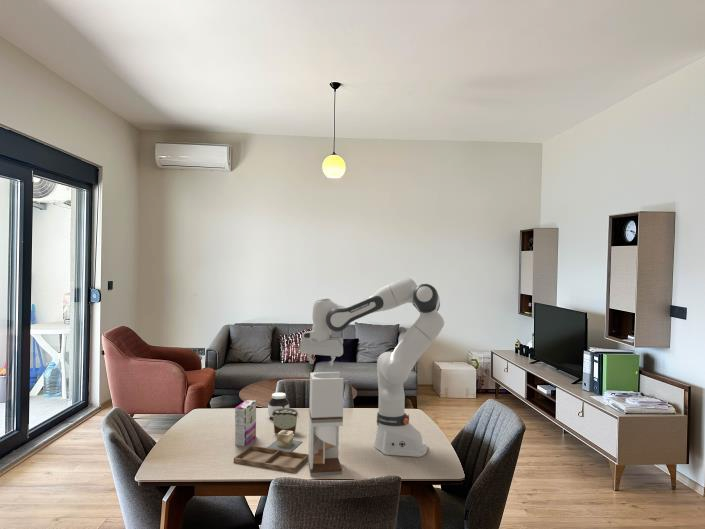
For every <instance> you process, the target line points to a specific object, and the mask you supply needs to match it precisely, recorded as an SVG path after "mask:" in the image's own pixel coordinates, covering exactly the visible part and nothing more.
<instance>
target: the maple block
mask: <svg viewBox="0 0 705 529" xmlns="http://www.w3.org/2000/svg"><path fill="white" fill-rule="evenodd" d="M276 440H277V446H282V447H289V446H290V445H291V444H293V440H294V435H293V431H288V430H282V431H280V432H279V433H278V434H277V435H276Z"/></svg>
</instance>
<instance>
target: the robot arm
mask: <svg viewBox="0 0 705 529" xmlns="http://www.w3.org/2000/svg"><path fill="white" fill-rule="evenodd" d="M408 303H409V304H412V305H413V307H415V309H416V310H417V311H418V312H419V316H418V317H417V319H416V320H415V322H414V323H413V324H412V325H411V326H410V327H409V328H408V330H407V331H406V332H404V334H403V335H402V336H401V337H400V339H399V341H398V343H397V345H396V346H395V347H394V350H393V351H384V352H382V353H381V354H380V355H379V356H378V358H377V361H376V371H377V372H376V375H377V388H378V409H377V410H378V411H377V414H376V425H377V428H376V429H377V430H376V437H375V440H374V444H373V447H374V448H375V449H376V450H377V451H380V452H381V453H382V454H383V455H384V456H385V455H386V456H402V457H412V458H415V457H416V458H421V457H424V456H425V455H426V454H427V452H428V449H429V448H428V444H427V443H426V442H424V441H423V438H422V434H421V432H420V430H418V429H417V428H416V427H414V426H413V425H412V424H411V423H410V414H407V413H405V403H406V402H405V398H406V396H405V391H404V390H405V389H404V383H405V382H406V381H407V380H408V378H409V376H410V373H411V371H412V370H413V369H414V367H415V365H416V364H417V362H418V360H419V359H420V357H421V356H422V355H423V353H424V352H425V351H426V350H427V349H428V348H429V347H430V345H431V344H432V343H433V342H434V341H435V340H436V338H438V335H439V334H441V331H442V330H443V328H444V325H445V321H444V318H443V317H442V315H441V314H440V313H439V312H438V311H439V310H440V307H441V300H440V296H439V292H438V291H437V289H436V288H435V287H434V286H433V285H432V284H429V283H421V284H419V285H417V283H416V282H415V281H414V280H413V279H412V278H410V277H406V278H401V279H398V280H395V281H392V282H390V283H387V284H385V285H383V286H381V287H380V288H378V289H376V290H375V291H374V292H373V293H372V294H371V295H369V296H368V297H367V298H365V299H364V300H362V301H360V302H358V303H355V304H353V305H350V306H347V307H346V306H344V305H340V304H337V302H336V303H335V301H332V300H331V299H330V298H324V299H323V298H322V299H318V300H316V301H315V302H314V303H313V306H312V322H313V323H312V328H311V330H308V331H305V332H303V333H301V337H302V338H301V340H300V343H299V352H300V353H301V354H305V355H307V356H306V357H307V358H308V361H309V362H308V363H309V364H310V365H314V364H315V363H314V362H315V360H314V359H313V358H312V355H316V356H317V355H318V356H328V357H329V356H330V359H331V360H330V361H328V366H330V367H331V366H333V365H334V361H335V359H336V357H341V356H343V354H344V346H343V344H344V338H343V337H342V336H341V335H338V334H337V335H336V334H335V335H334V334H332V331H333V332H336V333H337V332H341V331H344V330H345V329H346V328H347V327H349V325H350V324H351V323H353V322H354V321H356V320H359V319H361V318H364V317H365V316H368V315H370V314H373V313H378V312H384V311H388V310H389V311H390V310H391V309H395V308H398V307H400V306H402V305H403V306H404V305H405V304H408Z"/></svg>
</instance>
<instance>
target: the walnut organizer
mask: <svg viewBox="0 0 705 529" xmlns="http://www.w3.org/2000/svg"><path fill="white" fill-rule="evenodd" d="M307 461H309V453H302V452H296V451H292V452H290V451H284V450H277V449H271V448H267V447H263V446H258V445H257V446H256V445H250V446H249V447H247V448H246V449H244V450H242V451H241V452H240V453H239V454H237V455H236V456H234V457H233V463H234V464H240V465H244V466H245V465H246V466H250V467H251V466H252V467H257V468H263V469H267V470H274V471H279V472H286V473H293V474H295V473H296V472H297V471H298V470H299V469H300V468H301V467H303V466H304V464H306V462H307Z"/></svg>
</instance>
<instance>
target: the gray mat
mask: <svg viewBox="0 0 705 529" xmlns="http://www.w3.org/2000/svg"><path fill="white" fill-rule="evenodd" d="M301 444H303V441H301V440H296V439H295V440H294V439H293V444H291V445H290V446H289V447H282V446H277V439H275V441H274V442H272V443H271V444H269V446H267V447H266V448H271V449H277V450H284V451H290V452H294V450H295V449H296V448H297V447H299V446H300V445H301Z"/></svg>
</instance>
